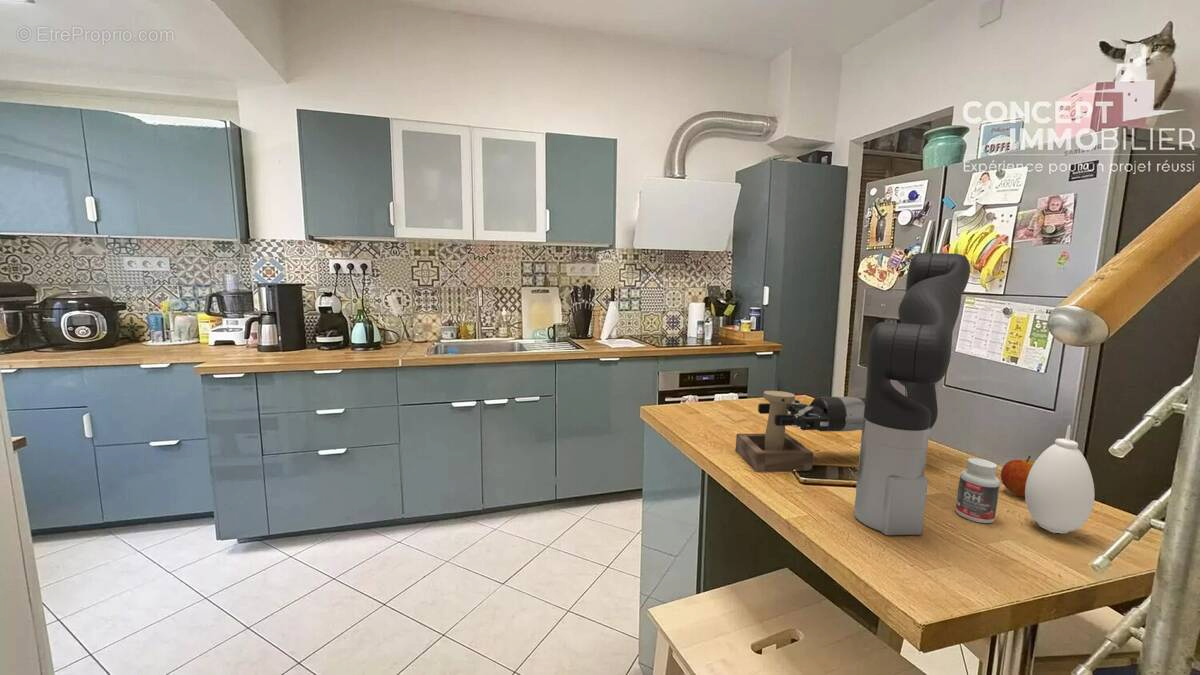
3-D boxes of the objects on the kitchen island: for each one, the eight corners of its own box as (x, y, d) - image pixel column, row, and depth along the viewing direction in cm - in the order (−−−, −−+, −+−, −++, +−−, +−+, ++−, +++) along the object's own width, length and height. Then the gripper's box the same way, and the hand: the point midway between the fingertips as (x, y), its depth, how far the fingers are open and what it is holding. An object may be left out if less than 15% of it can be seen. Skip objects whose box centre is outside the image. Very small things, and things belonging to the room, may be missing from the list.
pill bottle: (959, 519, 80) (967, 464, 79) (951, 505, 85) (958, 454, 84) (999, 527, 78) (1007, 471, 77) (988, 512, 83) (996, 459, 82)
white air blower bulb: (1036, 538, 75) (1054, 429, 72) (1010, 515, 82) (1025, 415, 80) (1099, 548, 73) (1119, 435, 70) (1066, 523, 80) (1084, 420, 78)
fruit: (1018, 504, 87) (1025, 462, 85) (989, 487, 93) (994, 448, 92) (1058, 505, 86) (1064, 463, 85) (1025, 488, 93) (1031, 449, 92)
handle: (791, 465, 102) (798, 397, 100) (761, 463, 102) (768, 395, 100) (782, 456, 107) (790, 391, 105) (754, 454, 107) (761, 390, 105)
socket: (811, 471, 99) (813, 452, 99) (756, 471, 98) (757, 453, 98) (785, 449, 111) (786, 433, 110) (735, 450, 110) (736, 433, 110)
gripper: (822, 389, 111) (754, 389, 110) (859, 406, 97) (782, 406, 95) (819, 420, 112) (752, 420, 111) (856, 441, 98) (779, 442, 96)
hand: (766, 414), depth 103 cm, fingers open, 8 cm apart
